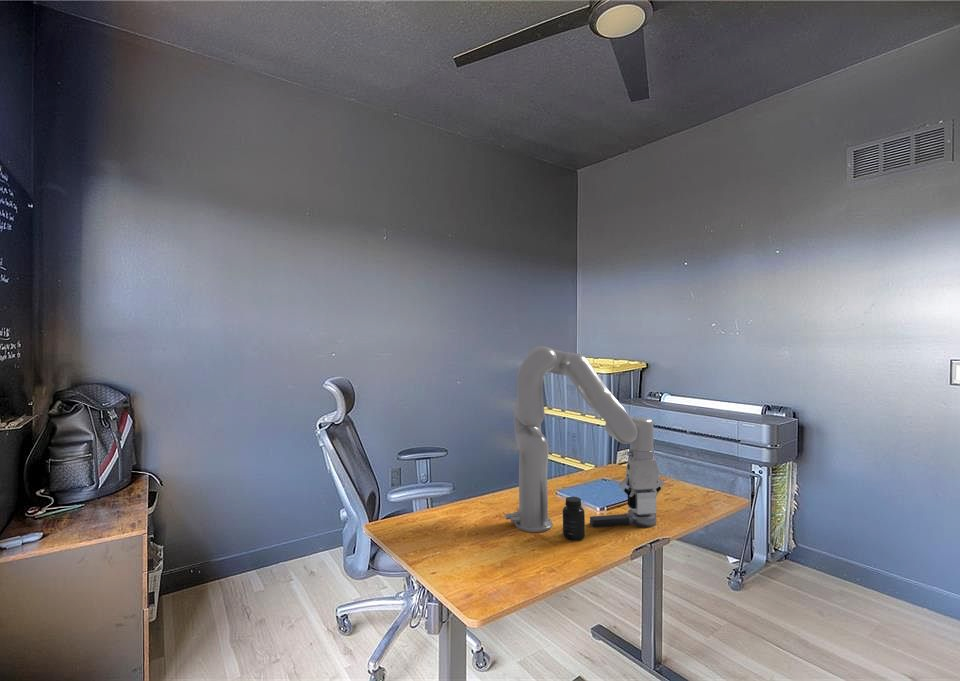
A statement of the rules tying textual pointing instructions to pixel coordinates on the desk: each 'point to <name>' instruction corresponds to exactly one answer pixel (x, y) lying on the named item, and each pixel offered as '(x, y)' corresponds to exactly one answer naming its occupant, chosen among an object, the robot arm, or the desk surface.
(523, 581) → the desk surface
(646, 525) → the ratchet
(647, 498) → the grey matte cube
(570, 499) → the supplement bottle
